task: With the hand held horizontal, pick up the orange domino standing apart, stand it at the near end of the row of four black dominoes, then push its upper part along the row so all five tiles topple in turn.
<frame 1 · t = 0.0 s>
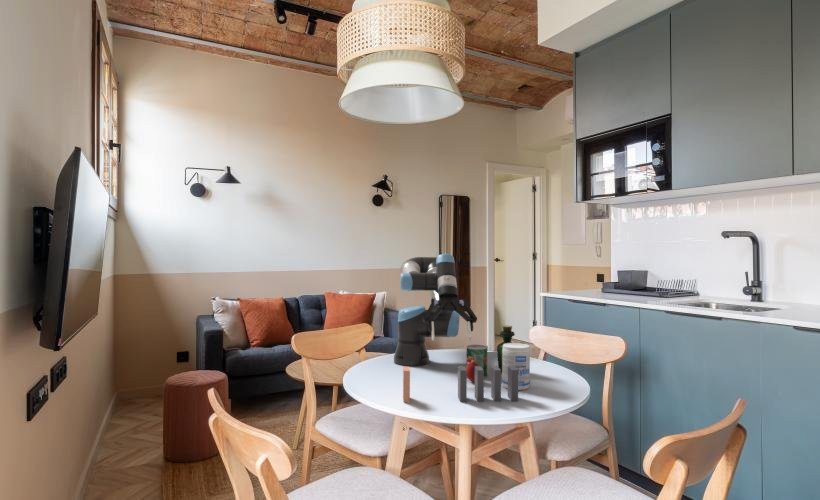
hand: (451, 339, 171), 15 cm above the table, tool tilted 35°, fingers open, 13 cm apart
supplement tub: (515, 387, 164), on the table
orange domino: (406, 399, 149), on the table
domino 4: (495, 399, 151), on the table
potion bottle: (507, 372, 184), on the table
domino 5: (512, 398, 151), on the table
onion: (473, 382, 170), on the table
canned tomato: (476, 376, 179), on the table
domino 2: (462, 399, 150), on the table
domino 3: (479, 399, 150), on the table
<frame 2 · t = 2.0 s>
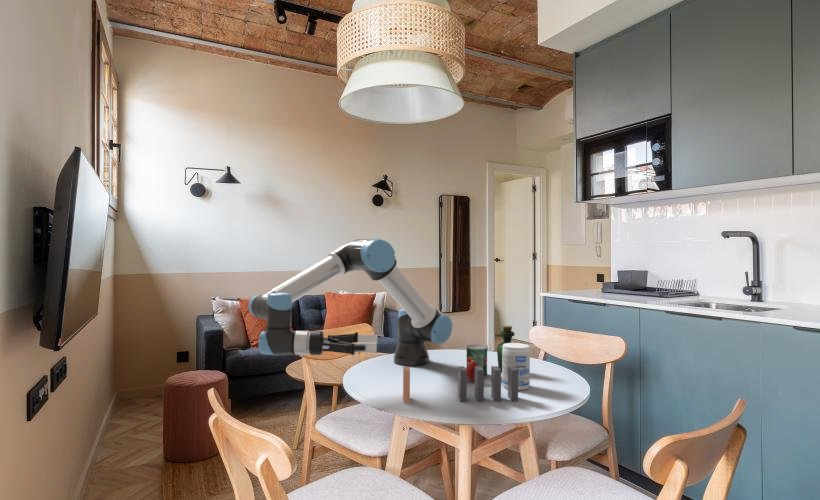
hand: (377, 343, 149), 18 cm above the table, tool horizontal, fingers open, 13 cm apart
nothing on the table moved.
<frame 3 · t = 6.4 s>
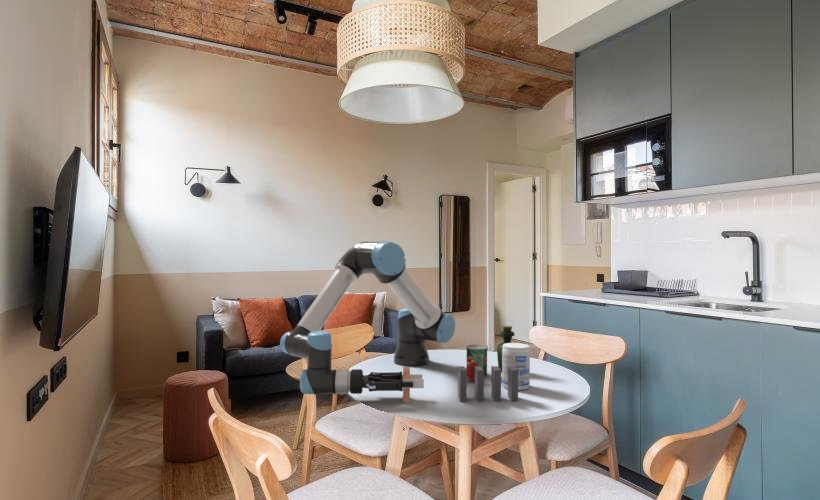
hand: (422, 380, 150), 6 cm above the table, tool horizontal, fingers closed on orange domino, 5 cm apart
orange domino: (406, 399, 149), on the table, touching gripper
everything else where it was.
when the fingers open (7 cm above the table, at t = 11.0 s): orange domino moves 3 cm and tips over, resting on domino 2.
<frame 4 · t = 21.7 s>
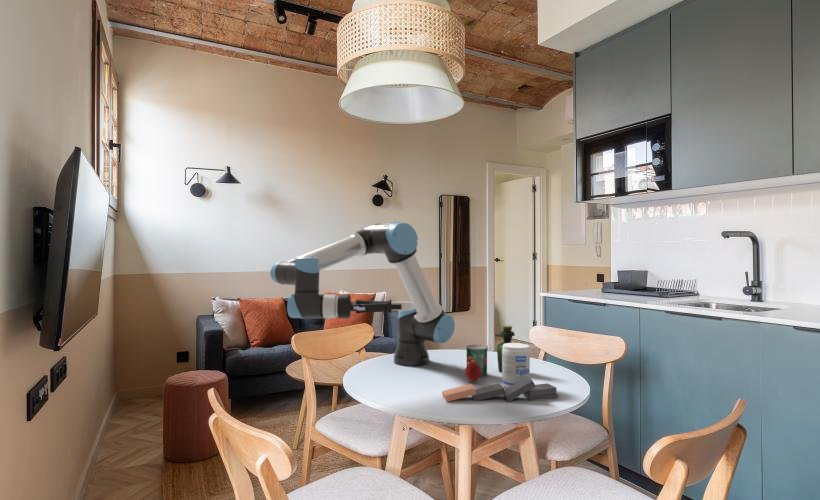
hand: (411, 306, 149), 30 cm above the table, tool horizontal, fingers closed
orange domino: (444, 396, 150), point 1 cm above the table, tilted 78°, touching domino 2
domino 4: (525, 391, 152), point 2 cm above the table, tilted 89°, touching domino 5
domino 5: (526, 396, 152), on the table, tilted 90°, touching domino 4
domino 2: (472, 395, 151), point 1 cm above the table, tilted 79°, touching domino 3, orange domino
domino 3: (504, 396, 151), point 1 cm above the table, tilted 62°, touching domino 2
everything else where it was.
at the end: domino 5 tilted 90°; orange domino tilted 78°; orange domino inside the target area (0.7 cm from its centre), point 1.0 cm above the table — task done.
